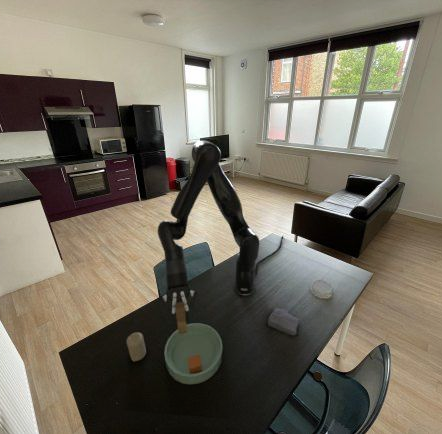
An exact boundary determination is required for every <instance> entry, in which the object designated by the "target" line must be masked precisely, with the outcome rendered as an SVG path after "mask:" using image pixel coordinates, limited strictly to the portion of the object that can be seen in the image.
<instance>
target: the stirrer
mask: <svg viewBox="0 0 442 434" xmlns="http://www.w3.org/2000/svg"><path fill="white" fill-rule="evenodd" d="M175 310H176V318H177V324H178V325H177V329H178V333H179V334H182V333H187V326H186V325H187V323H186V318H185V307H184V302H178V303H175Z"/></svg>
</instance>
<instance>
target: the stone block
mask: <svg viewBox="0 0 442 434" xmlns="http://www.w3.org/2000/svg"><path fill="white" fill-rule="evenodd" d="M267 321H268V322H267V325H268V326H269V327H270V328H272V329H275V330H278V331H280V332H282V333H285V334H287V335H289V336H296V335H297V329H298V326H299V324H300V318H299V316H298V315H297V314H295V313H293V312H291V311H287V310H285V309H282V308H280V307H274V309H273V311H272V313H271V314H270V315H269V316H268V320H267Z"/></svg>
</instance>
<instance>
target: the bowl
mask: <svg viewBox="0 0 442 434" xmlns="http://www.w3.org/2000/svg"><path fill="white" fill-rule="evenodd" d="M186 326H187V333H182V334H179V333H178V328H177V329H176V330H175V331H174V332H173V333H172V334H171V335H170V336H169V337H168V338H167V341H166V344H165V345H164V352H163V355H164V361H165V367H166V370H167V371H168V374H169V376H171V377H172V378H173V380H175V381H177V382H178V383H181V384H183V385H198V384H201V383H203V382H206V381H207V380H208V379H211V377H213V376H214V375H215V374H216V372H217V371H218V370H219V368H220V366H221V364H222V360H223V340H222V338H221V335H220V334H219V333H218V331H217V330H216V329H214V328H213V327H212V326H210V325H208V324H205V323H199V322H195V323H194V322H193V323H187V324H186ZM196 355H200V360H201V366H202V372H199V373H195V374H190V370H189V361H188V357H192V356H196Z"/></svg>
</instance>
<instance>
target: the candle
mask: <svg viewBox="0 0 442 434" xmlns="http://www.w3.org/2000/svg"><path fill="white" fill-rule="evenodd" d="M126 345H127V349H128V353H129V357H130V360H131V361H132V362H134V363H135V362H138V361H141V360H142V359H144V358H145V356H146V354H147V348H146V343H145V339H144V335H143V333H141V332H140V331H139V332H133V333H131V334H129V336H127V338H126Z"/></svg>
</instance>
